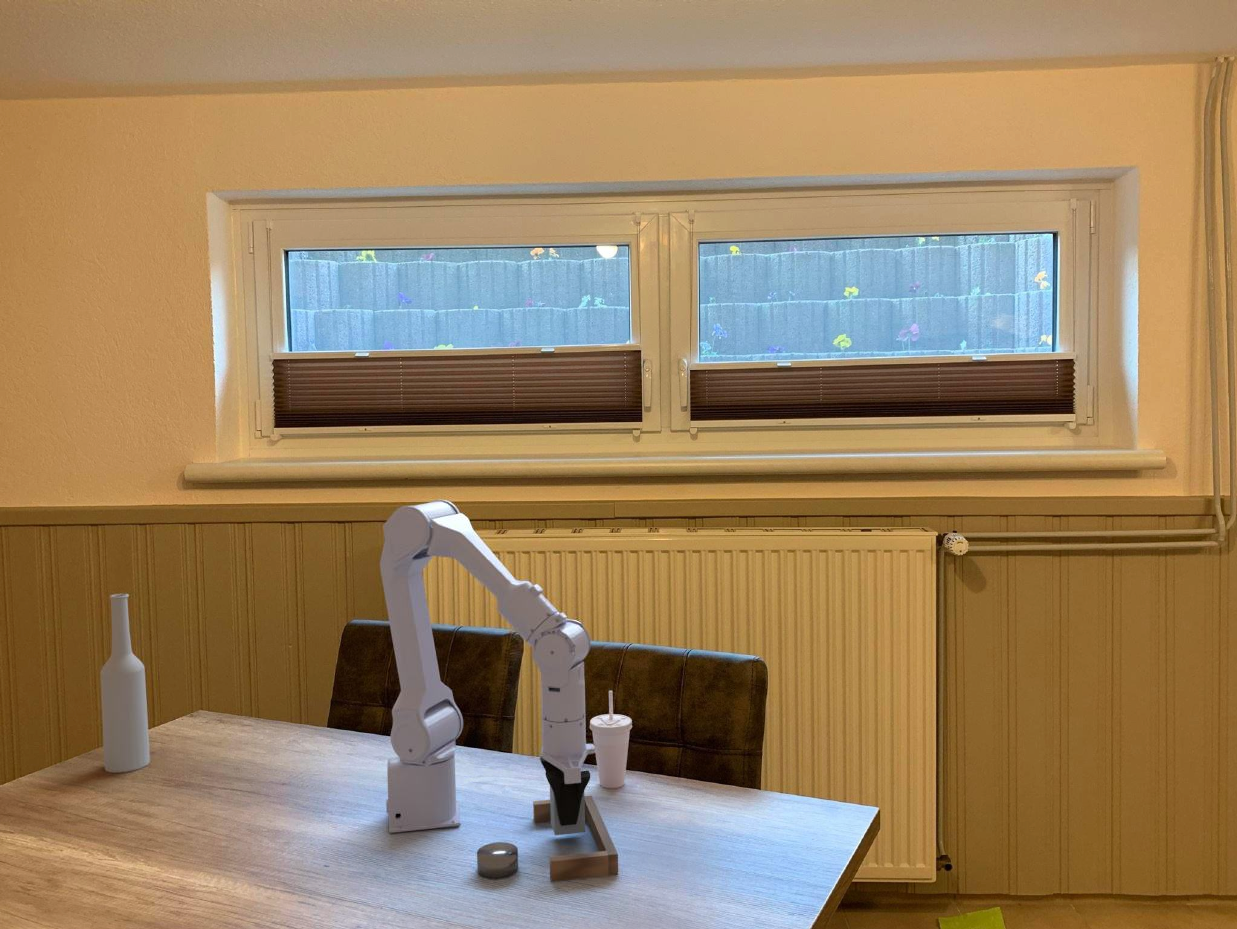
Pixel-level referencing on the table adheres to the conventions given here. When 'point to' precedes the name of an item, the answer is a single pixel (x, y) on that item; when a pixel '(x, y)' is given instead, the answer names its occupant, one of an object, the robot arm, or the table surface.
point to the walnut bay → (585, 862)
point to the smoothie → (611, 746)
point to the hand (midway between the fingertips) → (565, 817)
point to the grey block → (566, 829)
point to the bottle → (123, 699)
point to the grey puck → (497, 860)
